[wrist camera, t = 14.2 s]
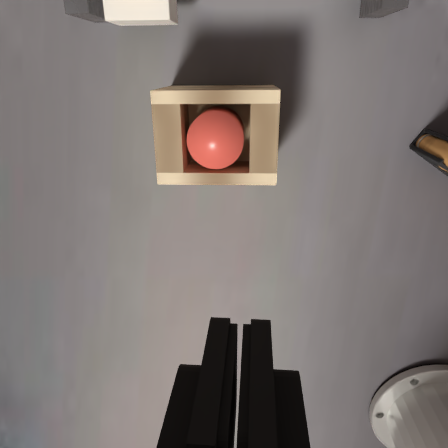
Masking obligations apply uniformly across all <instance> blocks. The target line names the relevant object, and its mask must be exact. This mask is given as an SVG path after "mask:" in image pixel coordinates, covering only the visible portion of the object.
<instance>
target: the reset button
mask: <svg viewBox="0 0 448 448" xmlns="http://www.w3.org/2000/svg"><path fill="white" fill-rule="evenodd" d="M243 143H244V126H243V122H242V120H241V118H240V117H239V115H238V114H237V113H236V112H235V111H233V110H232V109H230V108H228V107H225V106H213V107H210V108H208V109H206V110H205V111H203V112H202V113H201V114H200V115H199V116H198V117H197V118H196V119H195V120H194V121H193V122H192V124H191V126H190V127H189V130H188V133H187V147H188V150H189V152H190V154H191V156H192V157H193V159H194V160H195V161H196V162H197V163H199V164H200V165H202V166H204V167H206V168H210V169H222V168H225V167H227V166H230V165H231V164H233V163H234V162H235V161H236V160H237V159H238V157H239V156H240V154H241V152H242V149H243Z"/></svg>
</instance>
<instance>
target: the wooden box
mask: <svg viewBox="0 0 448 448" xmlns="http://www.w3.org/2000/svg"><path fill="white" fill-rule="evenodd" d="M280 92H281V90H280V89H279V88H277V87H276V86H274V85H189V86H168V87H164V88H159V89H155V90H151V91H150V93H151V106H152V119H153V131H154V144H155V157H156V169H157V182H158V184H183V185H276V181H277V159H278V137H279V114H280ZM213 106H225V107H228V108H230V109H232V110H233V111H235V112H236V113H237V114H238V115H239V117H240V118H241V120H242V122H243V126H244V143H243V149H242V152H241V154H240V156H239V157H238V159H237V160H236V161H235V162H234V163H233V164H231V165H230V166H227V167H225V168H222V169H210V168H206V167H204V166H202V165H200V164H199V163H197V162H196V161H195V160H194V159H193V157H192V156H191V154H190V152H189V150H188V147H187V133H188V130H189V127H190V126H191V124H192V122H193V121H194V120H195V119H196V118H197V117H198V116H199V115H200V114H201V113H202V112H203V111H205V110H206V109H208V108H210V107H213Z"/></svg>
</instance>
